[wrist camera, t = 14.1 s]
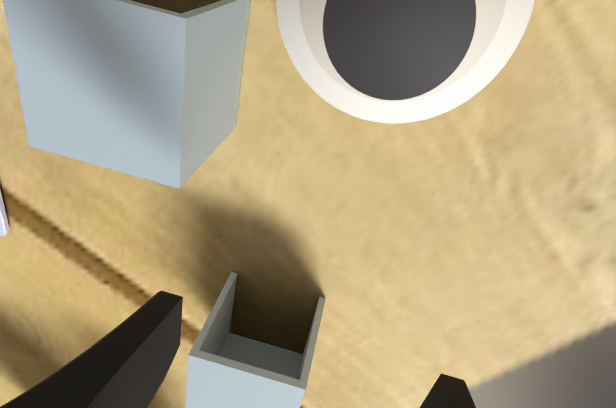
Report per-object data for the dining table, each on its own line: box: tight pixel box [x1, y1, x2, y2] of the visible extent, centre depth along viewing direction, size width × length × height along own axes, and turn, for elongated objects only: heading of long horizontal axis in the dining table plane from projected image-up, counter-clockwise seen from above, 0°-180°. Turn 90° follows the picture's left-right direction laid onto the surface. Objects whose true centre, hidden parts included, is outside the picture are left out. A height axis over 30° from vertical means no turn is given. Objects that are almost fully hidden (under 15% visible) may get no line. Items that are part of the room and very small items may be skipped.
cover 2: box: [185, 272, 325, 408], centre depth 24 cm, size 6×6×6 cm
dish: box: [276, 0, 535, 123], centre depth 16 cm, size 9×9×1 cm
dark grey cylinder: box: [323, 0, 476, 100], centre depth 13 cm, size 4×4×4 cm
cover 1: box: [3, 0, 250, 189], centre depth 16 cm, size 6×6×6 cm
